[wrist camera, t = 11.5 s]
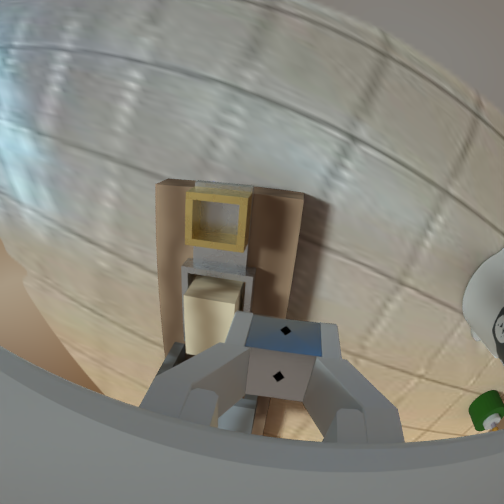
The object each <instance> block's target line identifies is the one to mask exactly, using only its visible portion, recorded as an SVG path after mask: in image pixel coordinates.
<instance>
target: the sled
mask: <svg viewBox="0 0 504 504" xmlns="http://www.w3.org/2000/svg"><path fill="white" fill-rule="evenodd" d="M253 194H254V186H250V185H241V184H231V183H221V182H210V181H199V180H198V181H196V182H195V186H194V187H193V188H191V189H189V190H188V191H186V203H185V245H190V246H193V258H188V259H187V260H186V261H185V262H184V263H183V265H182V266H181V275H182V309H183V332H184V341H185V322H184V294H185V292H186V291H187V289H188V288H189V286H190V285H191V283H192V282H193V280H194V274H197V275H204V276H210V277H216V278H223V279H229V280H236V281H242V282H246V286H245V298H244V309H243V311H244V312H250V313H252V304H253V294H254V284H255V274H256V268H254V267H247V262H248V251H249V240H250V228H251V217H252V206H253Z"/></svg>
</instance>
